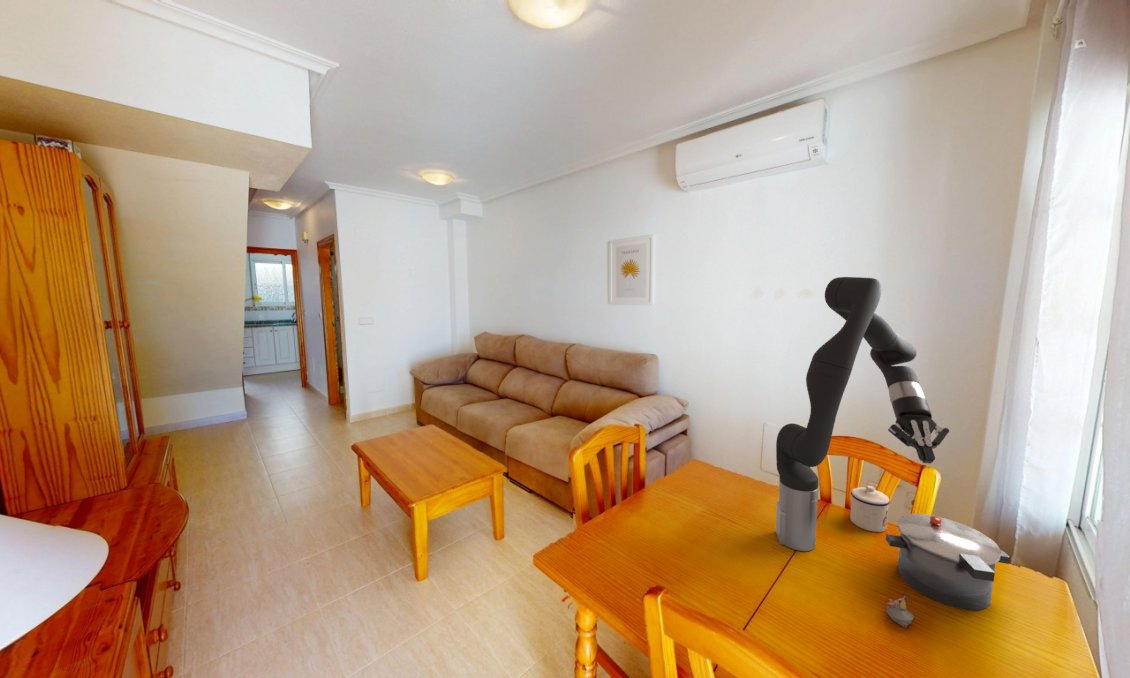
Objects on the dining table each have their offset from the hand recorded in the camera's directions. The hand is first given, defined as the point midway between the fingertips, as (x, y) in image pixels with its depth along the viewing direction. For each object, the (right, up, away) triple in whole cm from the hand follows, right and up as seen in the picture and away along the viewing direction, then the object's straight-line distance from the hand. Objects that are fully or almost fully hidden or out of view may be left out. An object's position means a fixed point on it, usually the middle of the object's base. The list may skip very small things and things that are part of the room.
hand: (928, 462), depth 100 cm
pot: (-2, -27, -6) cm, 28 cm away
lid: (-3, -16, -9) cm, 19 cm away
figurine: (-20, -29, -15) cm, 39 cm away
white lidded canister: (-1, -24, +19) cm, 31 cm away
